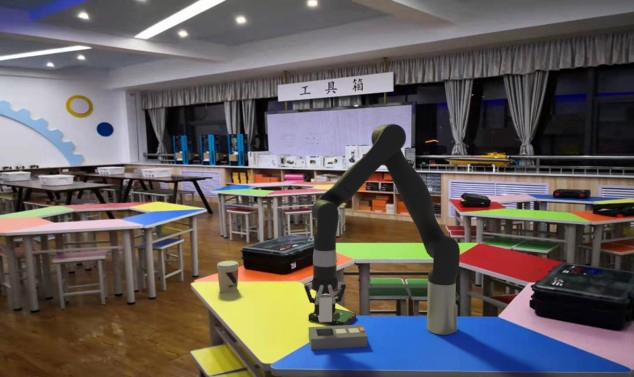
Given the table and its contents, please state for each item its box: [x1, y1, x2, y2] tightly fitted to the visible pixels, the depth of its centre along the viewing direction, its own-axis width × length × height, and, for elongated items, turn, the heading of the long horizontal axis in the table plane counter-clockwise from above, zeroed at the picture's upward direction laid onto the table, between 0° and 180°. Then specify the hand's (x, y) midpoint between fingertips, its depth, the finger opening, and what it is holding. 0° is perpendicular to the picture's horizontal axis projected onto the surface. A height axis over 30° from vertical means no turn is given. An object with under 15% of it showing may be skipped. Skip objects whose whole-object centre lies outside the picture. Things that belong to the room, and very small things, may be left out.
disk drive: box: [308, 307, 357, 326], centre depth 162 cm, size 10×3×15 cm
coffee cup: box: [216, 260, 240, 293], centre depth 194 cm, size 9×9×12 cm
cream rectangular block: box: [318, 294, 332, 323], centre depth 142 cm, size 4×4×8 cm
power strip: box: [308, 324, 368, 351], centre depth 143 cm, size 18×9×4 cm, turn 96°
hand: (324, 314), depth 142 cm, fingers closed on cream rectangular block, 4 cm apart
